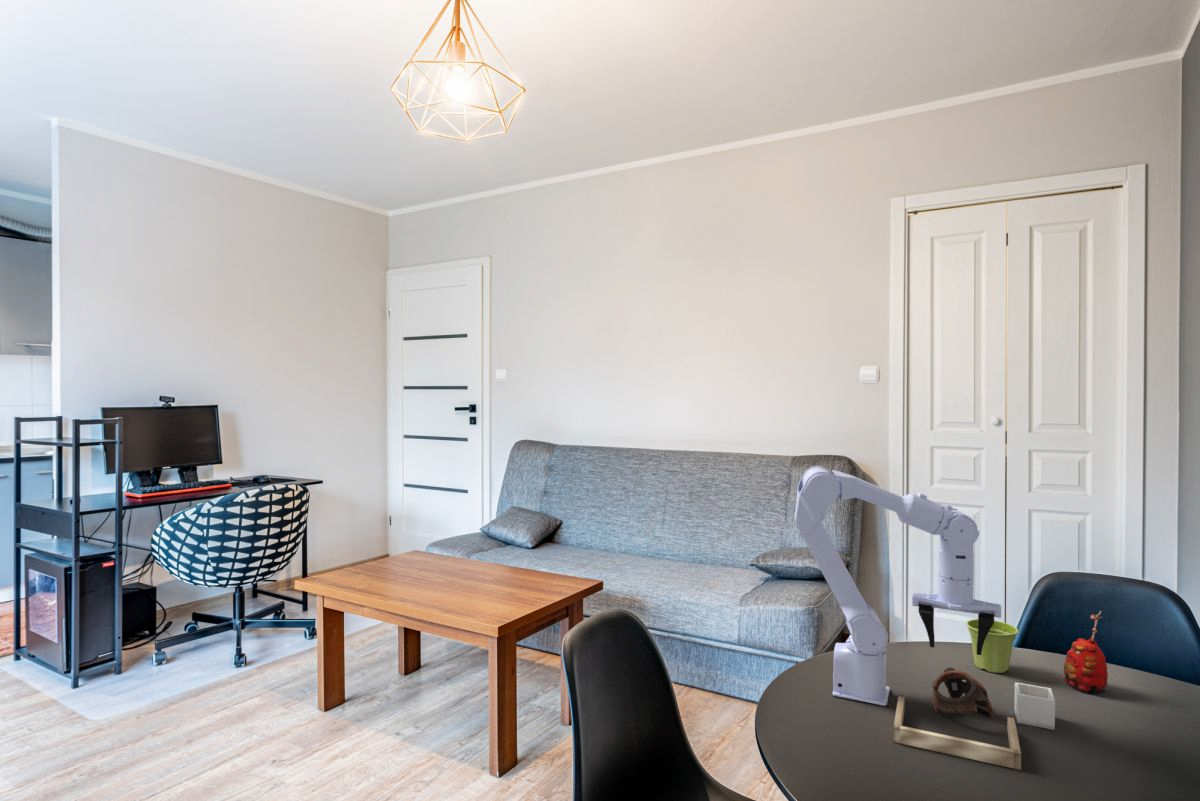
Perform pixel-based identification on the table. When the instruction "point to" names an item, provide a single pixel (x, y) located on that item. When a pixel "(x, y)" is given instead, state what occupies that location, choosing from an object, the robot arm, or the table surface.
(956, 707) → the brown hollow curved piece
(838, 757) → the table surface
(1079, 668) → the red clay folk toy
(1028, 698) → the white square open box
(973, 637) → the plant pot
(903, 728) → the birch bay
